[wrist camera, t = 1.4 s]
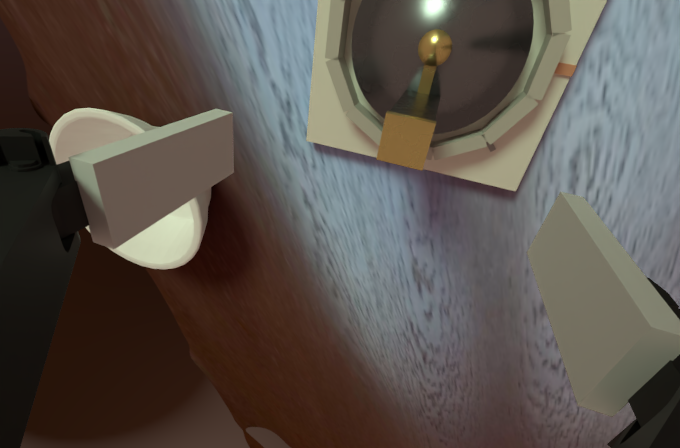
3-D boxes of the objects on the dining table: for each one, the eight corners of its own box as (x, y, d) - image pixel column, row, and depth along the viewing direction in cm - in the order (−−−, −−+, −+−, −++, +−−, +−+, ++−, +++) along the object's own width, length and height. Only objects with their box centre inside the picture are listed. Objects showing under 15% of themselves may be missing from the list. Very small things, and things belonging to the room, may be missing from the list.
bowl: (220, 95, 39) (170, 111, 32) (251, 246, 50) (218, 282, 43) (82, 92, 44) (15, 105, 38) (136, 229, 55) (92, 257, 48)
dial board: (336, -140, 26) (321, -160, 23) (652, -112, 22) (681, -132, 19) (311, 136, 38) (299, 146, 35) (513, 185, 34) (518, 200, 31)
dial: (371, -72, 26) (324, -122, 17) (565, -48, 24) (633, -91, 14) (345, 112, 34) (303, 147, 24) (489, 144, 31) (502, 196, 22)
